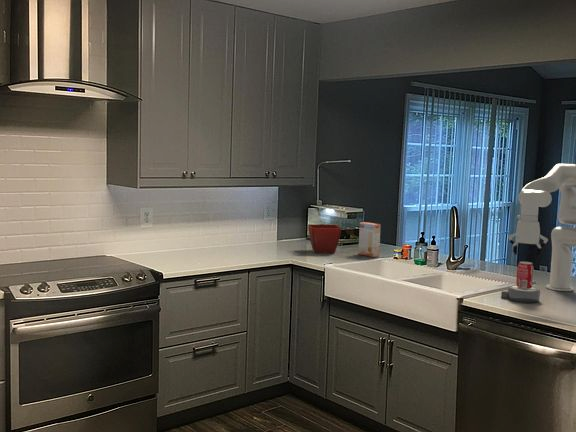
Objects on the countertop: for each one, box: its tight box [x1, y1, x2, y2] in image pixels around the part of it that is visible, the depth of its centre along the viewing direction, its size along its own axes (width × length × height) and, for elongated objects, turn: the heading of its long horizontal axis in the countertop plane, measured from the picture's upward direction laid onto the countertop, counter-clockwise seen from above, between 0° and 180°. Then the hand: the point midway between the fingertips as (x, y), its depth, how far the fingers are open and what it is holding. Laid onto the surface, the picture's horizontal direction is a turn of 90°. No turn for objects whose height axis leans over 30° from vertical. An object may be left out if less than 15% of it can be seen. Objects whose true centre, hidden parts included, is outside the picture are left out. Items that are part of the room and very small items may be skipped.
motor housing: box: [500, 285, 541, 305], centre depth 294 cm, size 14×16×6 cm
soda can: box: [515, 260, 535, 289], centre depth 293 cm, size 7×7×12 cm
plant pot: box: [307, 224, 342, 254], centre depth 416 cm, size 19×19×17 cm
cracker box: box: [357, 221, 381, 258], centre depth 405 cm, size 14×6×21 cm, turn 34°
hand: (526, 255), depth 292 cm, fingers open, 9 cm apart
